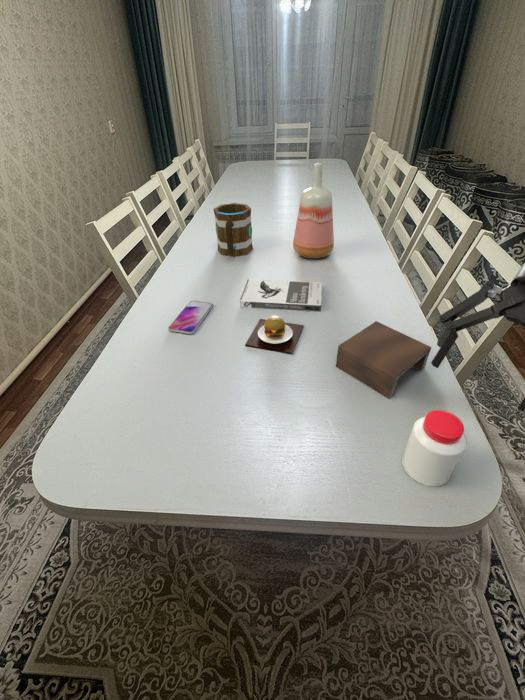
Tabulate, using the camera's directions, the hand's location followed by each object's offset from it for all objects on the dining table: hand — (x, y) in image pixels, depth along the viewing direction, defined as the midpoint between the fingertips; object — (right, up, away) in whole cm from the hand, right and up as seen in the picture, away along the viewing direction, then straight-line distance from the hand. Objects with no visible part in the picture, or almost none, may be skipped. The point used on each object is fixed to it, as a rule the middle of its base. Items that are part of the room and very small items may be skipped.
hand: (474, 386), depth 57 cm
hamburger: (-31, +9, +34) cm, 47 cm away
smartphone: (-54, +15, +42) cm, 69 cm away
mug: (-44, +42, +76) cm, 98 cm away
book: (-28, +21, +50) cm, 61 cm away
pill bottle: (-6, -14, +4) cm, 16 cm away
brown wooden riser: (-7, +2, +24) cm, 25 cm away
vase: (-16, +41, +74) cm, 86 cm away
